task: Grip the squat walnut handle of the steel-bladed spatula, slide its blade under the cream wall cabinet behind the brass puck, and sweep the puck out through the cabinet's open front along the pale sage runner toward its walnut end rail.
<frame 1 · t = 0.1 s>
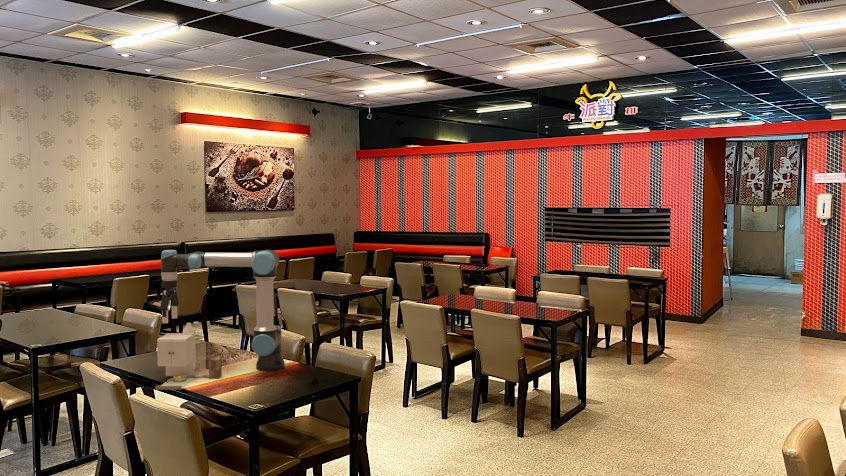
hand: (170, 320, 339), 28 cm above the table, fingers open, 13 cm apart
wall cabinet: (175, 379, 331), on the table
water bottle: (191, 369, 352), on the table
brass puck: (179, 380, 328), resting on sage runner
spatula: (215, 377, 334), on the table
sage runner: (175, 384, 322), on the table
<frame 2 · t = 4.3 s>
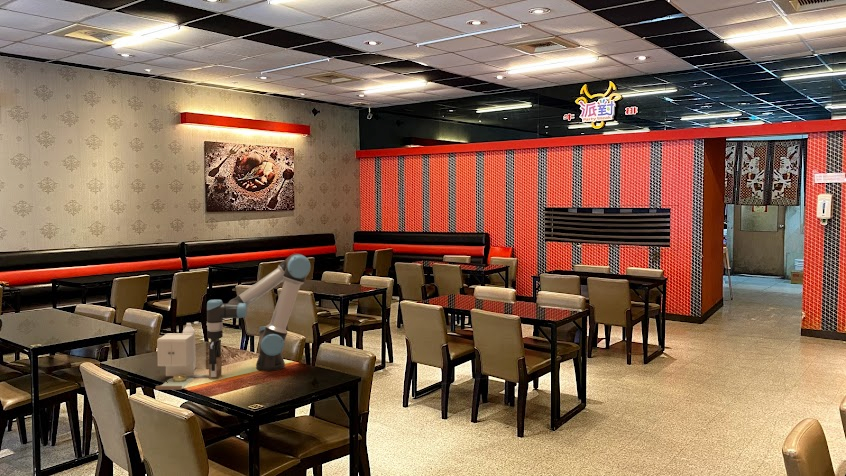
hand: (215, 375, 334), 1 cm above the table, fingers closed on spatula, 5 cm apart
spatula: (215, 377, 334), on the table, touching gripper
everything else where it was.
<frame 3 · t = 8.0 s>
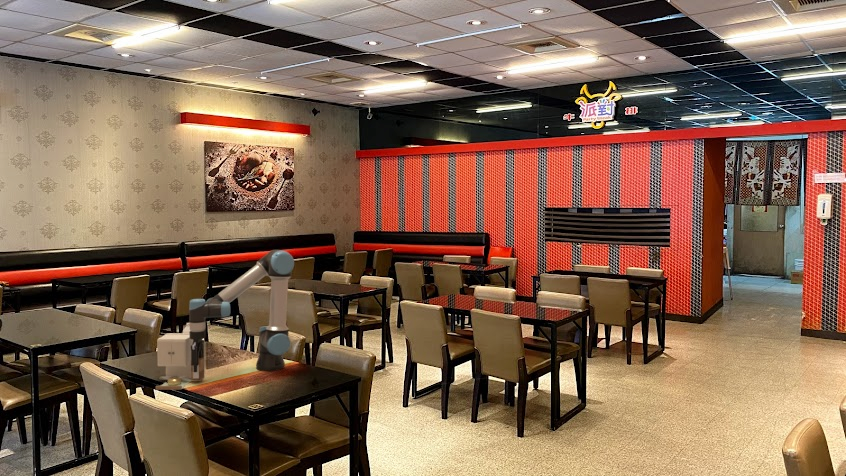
hand: (197, 376, 325), 3 cm above the table, fingers closed on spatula, 5 cm apart
brass puck: (174, 384, 321), resting on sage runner, touching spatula
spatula: (197, 379, 325), point 2 cm above the table, touching brass puck, gripper
everything else where it was.
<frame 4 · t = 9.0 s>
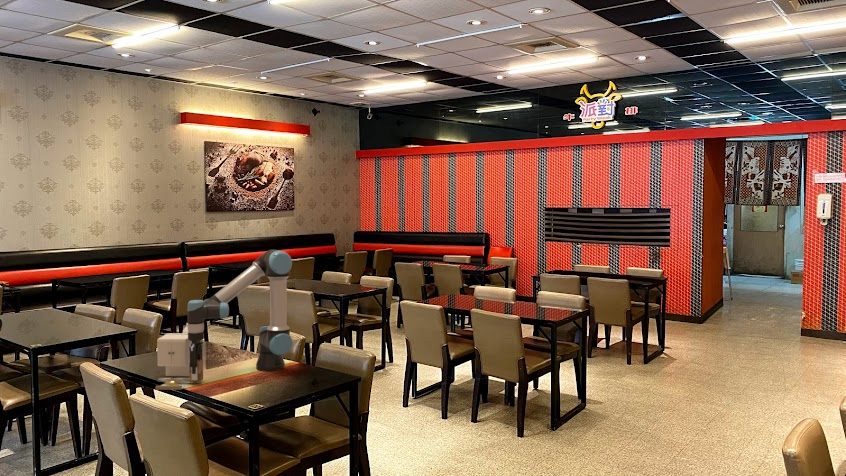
hand: (196, 378, 322), 3 cm above the table, fingers closed on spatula, 5 cm apart
brass puck: (172, 385, 318), resting on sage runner, touching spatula
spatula: (196, 380, 323), point 1 cm above the table, touching brass puck, gripper
everything else where it was.
when the fingers open (2 cm above the table, at t = 10.3 s): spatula stays where it is, resting on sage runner.
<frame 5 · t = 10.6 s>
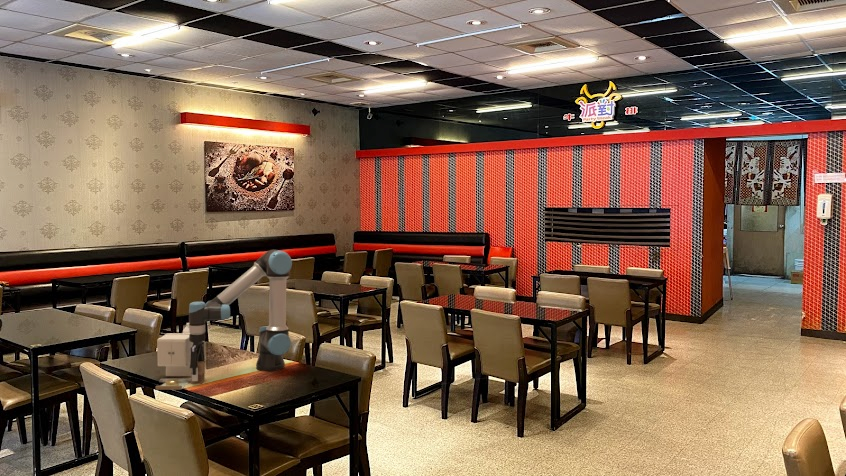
hand: (197, 378, 325), 2 cm above the table, fingers open, 8 cm apart
brass puck: (172, 385, 318), resting on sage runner
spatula: (197, 382, 325), resting on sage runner
everything else where it was.
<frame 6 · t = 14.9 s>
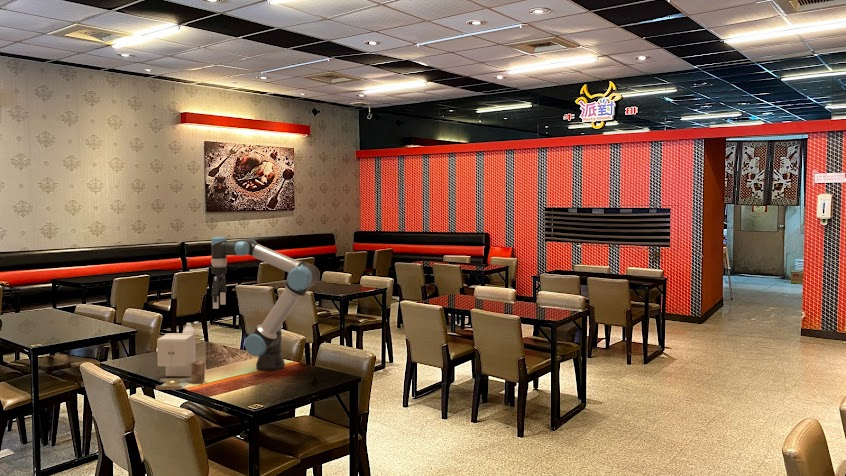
hand: (219, 306, 345), 35 cm above the table, fingers open, 13 cm apart
nothing on the table moved.
at the end: brass puck inside the target area (0.6 cm from its centre), resting on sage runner; brass puck touching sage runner; the gripper is holding nothing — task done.
